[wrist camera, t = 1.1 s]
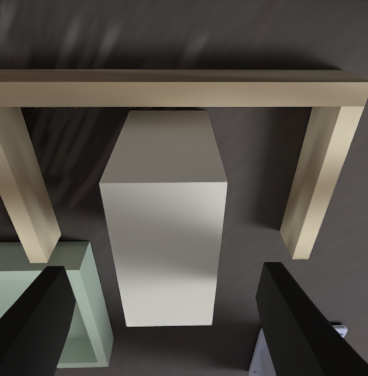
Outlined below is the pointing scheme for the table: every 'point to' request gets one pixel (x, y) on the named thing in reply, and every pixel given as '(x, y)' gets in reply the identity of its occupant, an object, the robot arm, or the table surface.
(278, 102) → the frame
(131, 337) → the table surface
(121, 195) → the tall grey box
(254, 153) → the table surface
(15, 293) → the tray
